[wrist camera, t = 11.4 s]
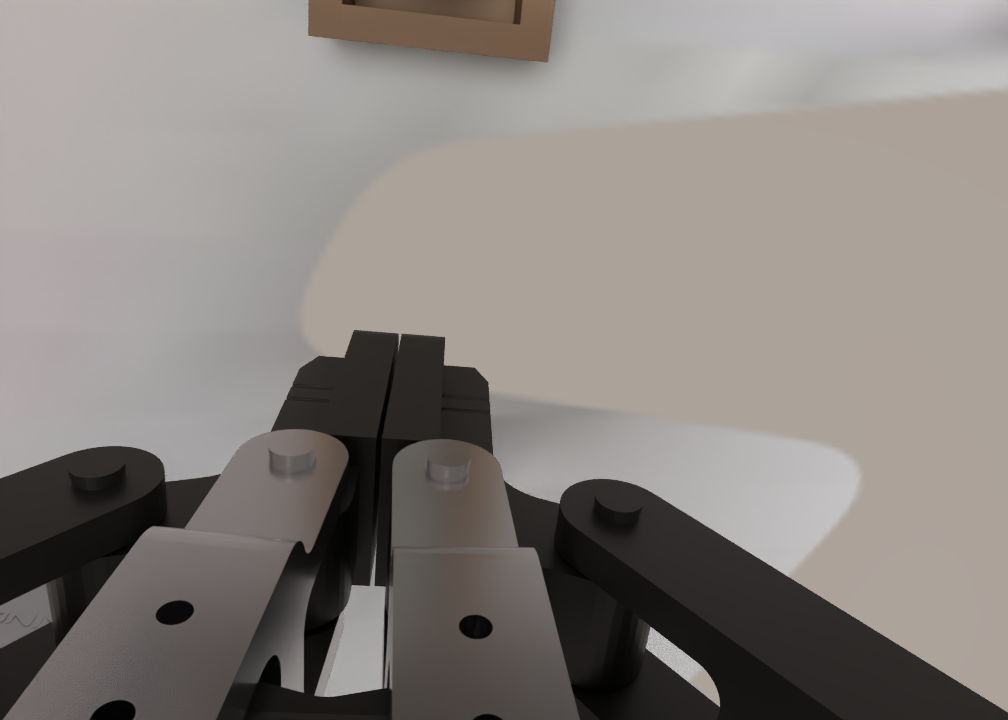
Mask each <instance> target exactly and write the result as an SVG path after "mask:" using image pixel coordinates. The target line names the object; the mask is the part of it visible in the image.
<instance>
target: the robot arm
mask: <svg viewBox="0 0 1008 720" xmlns="http://www.w3.org/2000/svg"><path fill="white" fill-rule="evenodd" d="M398 341H399V336H398V334H397V333H385V332H372V331H359V330H354V332H353V335H352V338H351V340H350V344H349V346H348V349H347V352H346V355H345V358H338V357H325V356H318V357H317V358H315V359H314V360H312V361H311V362H309V363H308V364H306V365H304V366H303V367H301V368H300V369H299V372H298V374H297V376H296V378H295V380H294V382H293V387H291V389H290V391H289V393H288V395H287V400H285V402H284V404H283V406H282V408H281V411H280V413H279V415H278V417H277V419H276V421H275V424H274V426H273V428H272V430H271V432H268V433H265V434H261V435H259V436H256V437H254V438H252V439H250V440H248V441H247V442H245V443H244V444H243V445H242V446H241V447H240V448H239V449H238V450H237V451H236V453H235V454H234V456H233V457H232V459H231V460H230V462H229V463H228V465H227V466H226V468H225V469H224V471H223V472H222V474H219V475H215V476H210V477H203V478H196V479H187V480H179V481H170V482H165V471H164V466H163V463H162V462H161V461H160V459H159V458H157V457H156V456H155V455H153V454H151V453H149V452H147V451H144V450H141V449H137V448H132V447H122V446H108V447H97V448H90V449H85V450H81V451H77V452H73V453H70V454H67V455H64V456H61V457H59V458H56V459H53V460H50V461H48V462H45V463H42V464H39V465H37V466H34V467H31V468H28V469H26V470H23V471H20V472H17V473H15V474H12V475H9V476H6V477H3V478H1V479H0V720H1008V712H1006V711H1004V710H1003V709H1001V708H1000V707H998V706H996V705H995V704H993V703H992V702H990V701H988V700H987V699H985V698H983V697H981V696H980V695H979V694H977V693H975V692H974V691H972V690H970V689H969V688H967V687H966V686H964V685H962V684H961V683H959V682H958V681H956V680H954V679H953V678H951V677H949V676H948V675H946V674H945V673H943V672H941V671H939V670H938V669H936V668H935V667H933V666H931V665H930V664H928V663H927V662H925V661H923V660H922V659H920V658H919V657H917V656H915V655H914V654H912V653H911V652H909V651H907V650H906V649H904V648H902V647H901V646H899V645H898V644H896V643H894V642H893V641H891V640H890V639H888V638H886V637H885V636H883V635H881V634H880V633H878V632H877V631H875V630H873V629H872V628H870V627H868V626H867V625H865V624H863V623H862V622H860V621H859V620H857V619H856V618H854V617H852V616H851V615H849V614H847V613H846V612H844V611H842V610H841V609H839V608H838V607H836V606H834V605H833V604H831V603H829V602H828V601H826V600H825V599H823V598H821V597H820V596H818V595H817V594H815V593H813V592H812V591H810V590H808V589H807V588H805V587H803V586H802V585H801V584H799V583H797V582H796V581H794V580H792V579H791V578H789V577H788V576H786V575H784V574H783V573H781V572H779V571H778V570H776V569H775V568H773V567H771V566H770V565H768V564H767V563H765V562H763V561H762V560H760V559H758V558H757V557H755V556H754V555H752V554H750V553H749V552H747V551H745V550H744V549H742V548H741V547H739V546H737V545H736V544H734V543H733V542H731V541H729V540H728V539H726V538H724V537H723V536H721V535H720V534H718V533H716V532H715V531H713V530H711V529H710V528H708V527H707V526H705V525H703V524H702V523H700V522H699V521H697V520H695V519H694V518H692V517H690V516H689V515H687V514H686V513H684V512H682V511H681V510H679V509H677V508H676V507H674V506H673V505H671V504H669V503H668V502H666V501H665V500H663V499H661V498H660V497H658V496H656V495H655V494H653V493H651V492H650V491H648V490H646V489H644V488H641V487H639V486H637V485H633V484H630V483H627V482H623V481H618V480H610V479H593V480H586V481H582V482H579V483H576V484H574V485H572V486H570V487H569V488H568V489H567V490H565V492H564V493H563V494H562V497H561V500H560V504H558V503H554V502H551V501H547V500H543V499H539V498H536V497H533V496H530V495H528V494H525V493H523V492H521V491H519V490H517V489H515V488H513V487H512V486H510V485H509V484H508V483H506V482H505V481H504V479H503V475H502V470H501V466H500V464H499V462H498V461H497V459H496V458H495V457H494V456H493V446H492V431H491V417H490V402H489V387H488V382H487V381H486V380H485V378H484V377H483V376H482V375H481V374H480V373H479V372H478V371H477V370H476V369H475V368H471V367H458V366H445V365H444V349H445V337H436V336H424V335H411V334H402V336H401V341H400V346H399V351H398V345H399V342H398ZM376 544H377V548H376ZM375 550H376V569H375V586H386V591H385V608H384V626H383V656H382V689H378V690H372V691H366V692H360V693H354V694H348V695H342V696H336V697H323V696H324V692H325V689H326V686H327V682H328V679H329V676H330V672H331V669H332V666H333V662H334V659H335V656H336V652H337V649H338V646H339V642H340V639H341V636H342V633H343V627H344V608H345V607H346V605H347V603H348V600H349V596H350V591H351V586H352V585H363V586H370V581H371V575H372V569H373V562H374V556H375ZM650 627H652V628H653V629H655V630H656V631H657V632H659V633H660V634H661V635H662V636H664V637H665V638H666V639H668V640H669V641H670V642H672V643H673V644H674V645H676V646H677V647H678V648H679V649H681V650H682V651H683V652H685V653H686V654H687V655H689V656H690V657H691V658H692V659H694V660H695V661H696V662H698V663H699V664H700V665H701V666H702V667H703V668H704V669H705V670H706V671H707V672H708V674H709V675H710V676H711V678H712V680H713V681H714V683H715V685H716V687H717V690H718V693H719V697H720V707H719V706H718V705H716V704H715V703H714V702H712V701H711V700H710V699H708V698H707V697H706V696H705V695H704V694H702V693H701V692H700V691H699V690H697V689H696V688H695V687H694V686H692V685H691V684H690V683H689V682H687V681H686V680H685V679H684V678H682V677H681V676H680V675H679V674H677V673H676V672H675V671H674V670H672V669H671V668H670V667H668V666H667V665H666V664H665V663H663V662H662V661H661V660H660V659H658V658H657V657H656V656H655V655H653V654H652V653H651V652H650V651H648V650H647V649H646V644H647V640H648V636H649V631H650Z"/></svg>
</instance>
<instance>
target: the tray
mask: <svg viewBox="0 0 1008 720" xmlns="http://www.w3.org/2000/svg"><path fill="white" fill-rule="evenodd" d="M554 5H555V0H309V26H308V36H315V37H324V38H333V39H342V40H351V41H360V42H370V43H379V44H388V45H397V46H406V47H415V48H424V49H433V50H442V51H451V52H460V53H469V54H478V55H487V56H496V57H505V58H514V59H523V60H532V61H541V62H548V56H549V47H550V39H551V31H552V22H553V14H554Z"/></svg>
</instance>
